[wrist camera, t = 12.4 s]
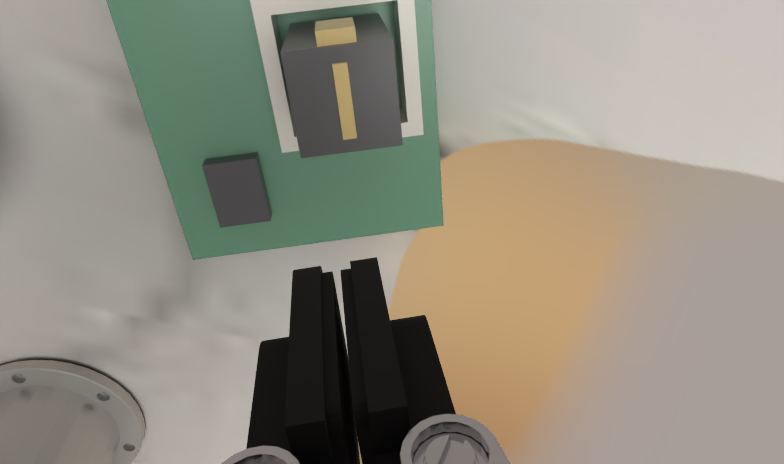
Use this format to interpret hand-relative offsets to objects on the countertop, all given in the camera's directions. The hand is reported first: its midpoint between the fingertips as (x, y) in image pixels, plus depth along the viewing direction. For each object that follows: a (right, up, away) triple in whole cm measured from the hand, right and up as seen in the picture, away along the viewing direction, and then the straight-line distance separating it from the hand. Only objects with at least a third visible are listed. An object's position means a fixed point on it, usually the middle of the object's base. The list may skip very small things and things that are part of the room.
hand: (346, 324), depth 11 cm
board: (-5, +11, +19) cm, 23 cm away
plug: (-2, +11, +18) cm, 21 cm away
